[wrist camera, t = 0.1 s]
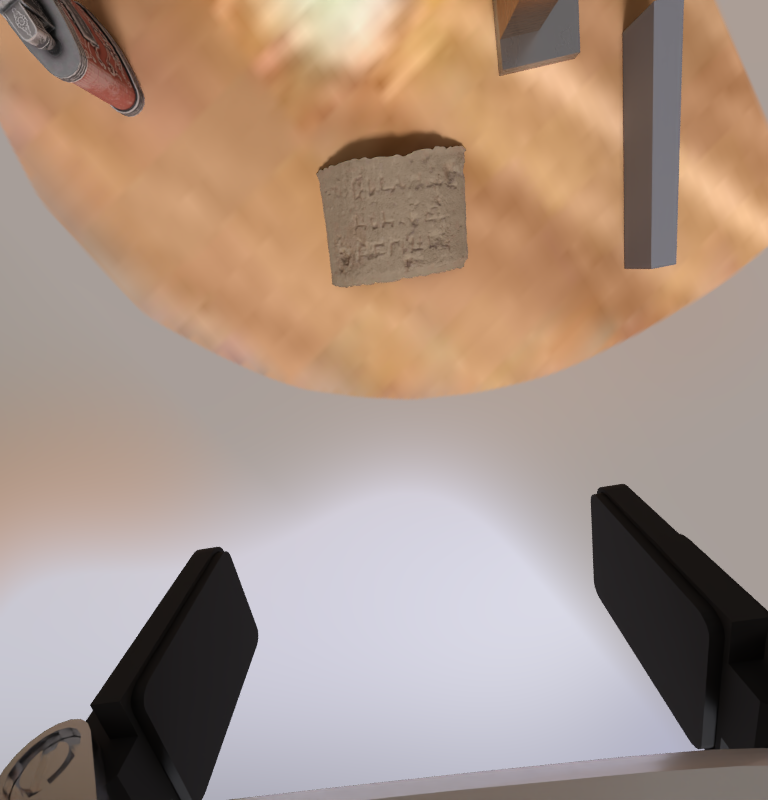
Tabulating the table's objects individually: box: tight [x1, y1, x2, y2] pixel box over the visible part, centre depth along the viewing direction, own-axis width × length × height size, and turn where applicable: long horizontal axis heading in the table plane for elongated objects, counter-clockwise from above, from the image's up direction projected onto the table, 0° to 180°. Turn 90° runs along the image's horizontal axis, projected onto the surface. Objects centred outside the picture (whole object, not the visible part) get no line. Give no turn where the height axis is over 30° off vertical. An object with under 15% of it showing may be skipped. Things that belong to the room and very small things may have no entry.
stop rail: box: [623, 0, 684, 269], centre depth 33 cm, size 18×2×4 cm, turn 11°
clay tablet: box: [317, 146, 468, 288], centre depth 36 cm, size 14×10×3 cm
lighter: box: [0, 0, 145, 117], centre depth 28 cm, size 8×3×10 cm, turn 30°
